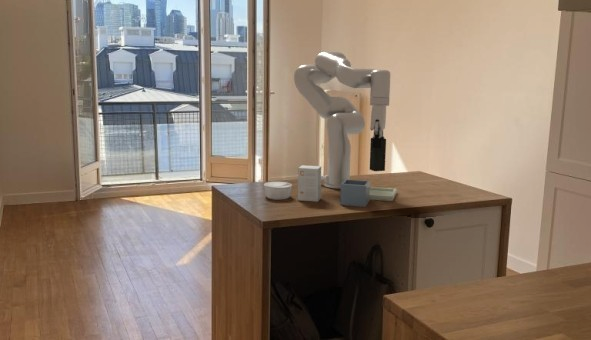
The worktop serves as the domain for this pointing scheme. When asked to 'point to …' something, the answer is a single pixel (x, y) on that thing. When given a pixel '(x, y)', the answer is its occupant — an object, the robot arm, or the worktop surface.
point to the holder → (355, 192)
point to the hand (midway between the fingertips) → (377, 146)
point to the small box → (309, 183)
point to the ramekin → (277, 190)
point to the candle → (378, 155)
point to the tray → (382, 194)
